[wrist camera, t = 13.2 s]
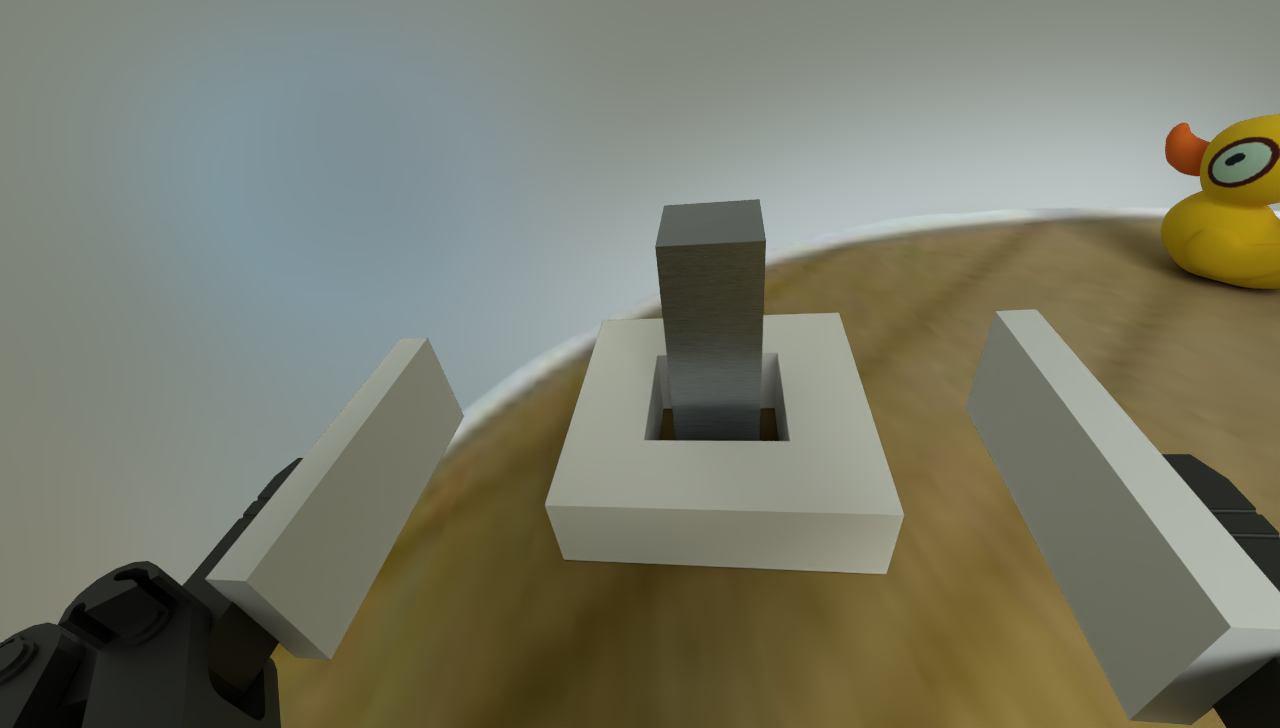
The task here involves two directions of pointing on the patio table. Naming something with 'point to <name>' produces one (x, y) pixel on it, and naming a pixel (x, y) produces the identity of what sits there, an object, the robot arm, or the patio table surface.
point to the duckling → (1228, 204)
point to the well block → (727, 463)
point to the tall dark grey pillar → (713, 317)
